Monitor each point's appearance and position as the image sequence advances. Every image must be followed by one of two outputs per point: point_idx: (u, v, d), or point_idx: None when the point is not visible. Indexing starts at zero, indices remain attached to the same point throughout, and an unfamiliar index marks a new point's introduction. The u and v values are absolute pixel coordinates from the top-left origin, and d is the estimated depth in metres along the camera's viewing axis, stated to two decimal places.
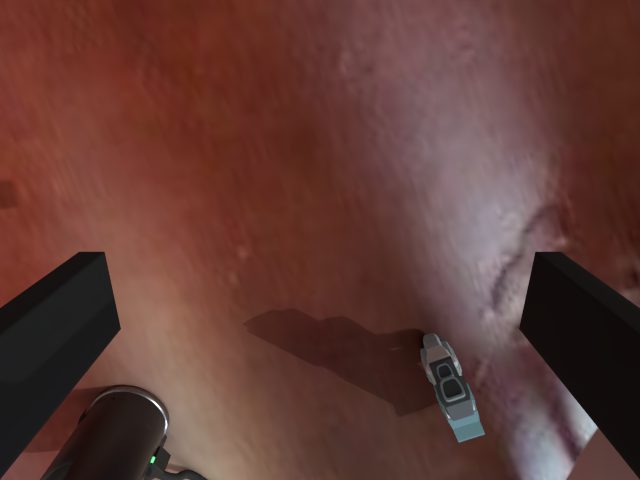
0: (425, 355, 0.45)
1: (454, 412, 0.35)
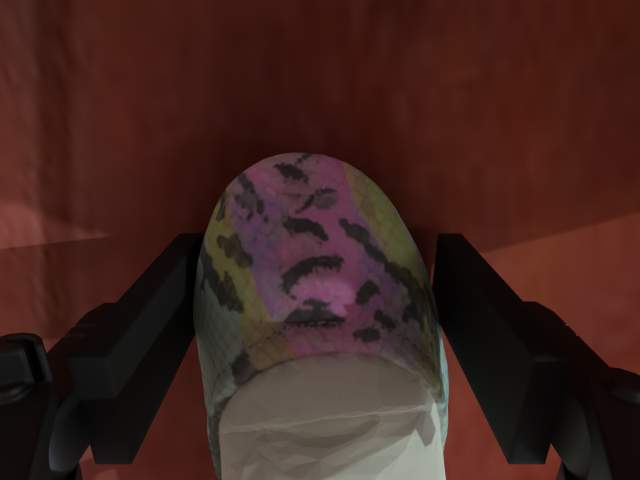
0: None
1: None
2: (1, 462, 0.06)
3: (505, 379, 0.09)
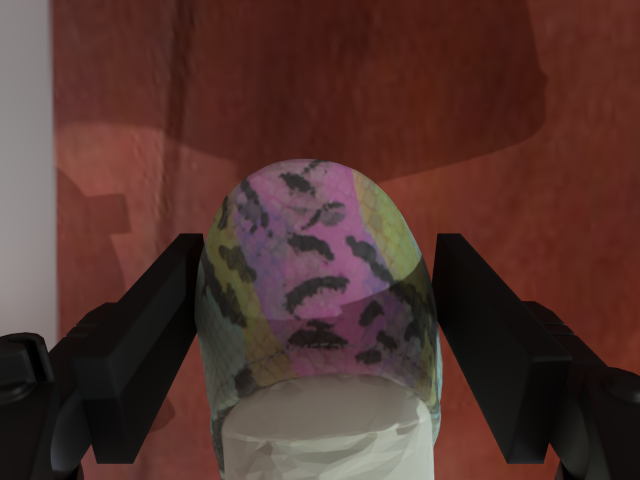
0: None
1: None
2: (3, 462, 0.06)
3: (503, 379, 0.09)
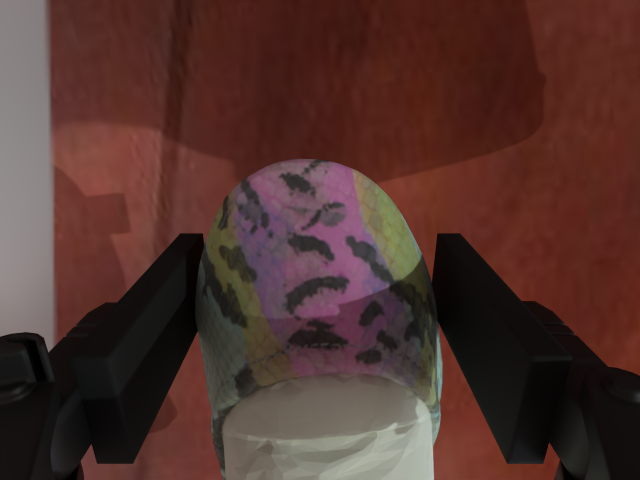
0: None
1: None
2: (3, 461, 0.06)
3: (503, 379, 0.09)
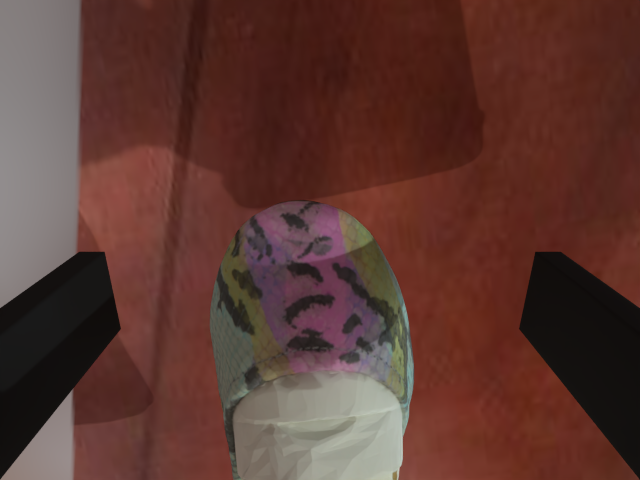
0: None
1: None
2: None
3: None
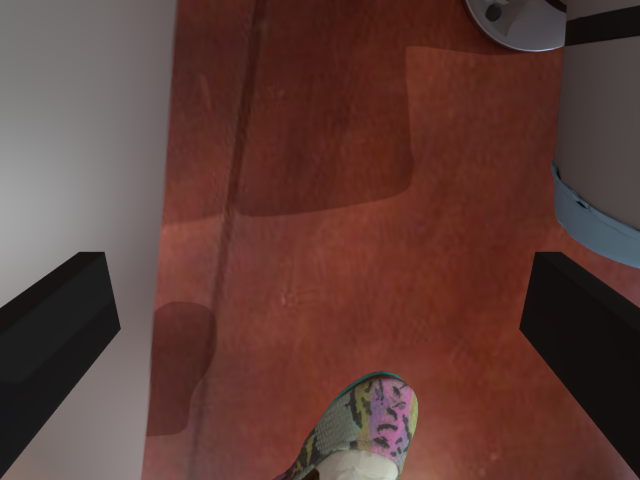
0: None
1: None
2: None
3: None
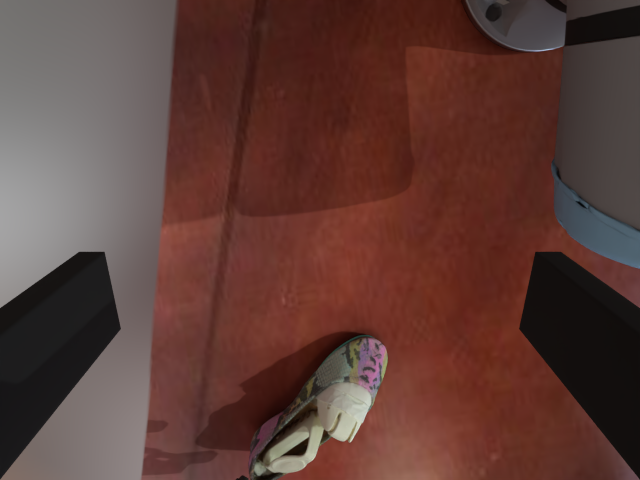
0: None
1: None
2: None
3: None
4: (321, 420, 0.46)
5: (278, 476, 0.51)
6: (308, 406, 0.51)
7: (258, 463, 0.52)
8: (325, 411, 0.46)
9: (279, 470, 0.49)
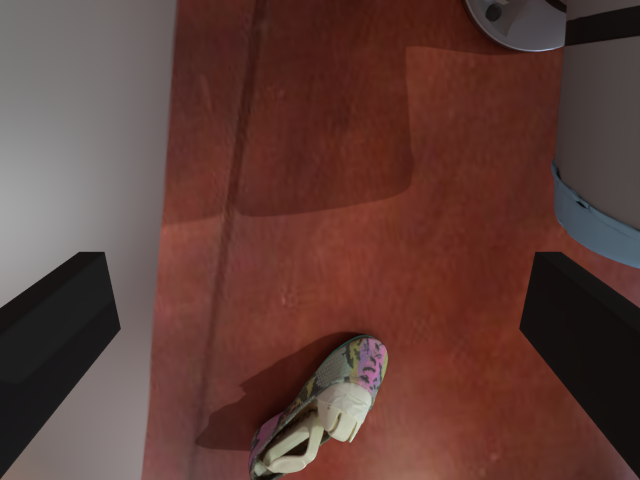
0: None
1: None
2: None
3: None
4: (321, 420, 0.46)
5: (278, 476, 0.51)
6: (308, 406, 0.51)
7: (258, 463, 0.52)
8: (325, 411, 0.46)
9: (279, 470, 0.49)
